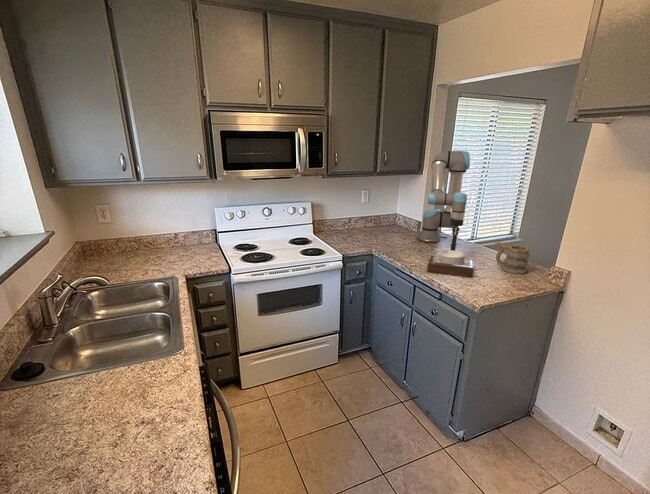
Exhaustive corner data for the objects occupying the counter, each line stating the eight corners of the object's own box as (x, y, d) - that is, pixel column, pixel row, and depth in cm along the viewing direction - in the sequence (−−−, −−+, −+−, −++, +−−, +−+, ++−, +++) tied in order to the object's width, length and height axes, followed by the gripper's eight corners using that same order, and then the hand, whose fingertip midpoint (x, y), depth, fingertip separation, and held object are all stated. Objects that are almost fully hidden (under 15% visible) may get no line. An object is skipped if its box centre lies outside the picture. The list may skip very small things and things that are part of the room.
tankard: (529, 270, 212) (535, 246, 206) (520, 275, 204) (526, 250, 199) (496, 261, 226) (500, 239, 220) (486, 266, 218) (491, 243, 212)
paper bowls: (441, 259, 229) (442, 248, 226) (465, 264, 222) (467, 252, 219) (434, 266, 217) (435, 254, 214) (459, 271, 210) (461, 258, 207)
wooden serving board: (430, 262, 223) (431, 253, 221) (471, 267, 216) (472, 258, 213) (427, 272, 209) (428, 262, 206) (471, 277, 201) (472, 267, 199)
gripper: (451, 216, 224) (446, 251, 233) (450, 220, 213) (445, 257, 222) (463, 216, 222) (458, 252, 230) (463, 221, 211) (458, 259, 219)
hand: (452, 255), depth 226 cm, fingers closed
